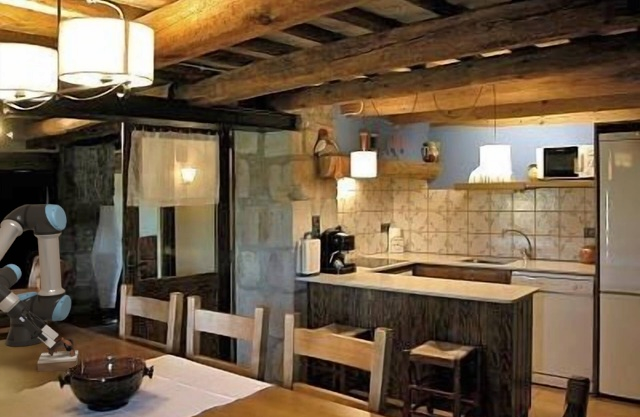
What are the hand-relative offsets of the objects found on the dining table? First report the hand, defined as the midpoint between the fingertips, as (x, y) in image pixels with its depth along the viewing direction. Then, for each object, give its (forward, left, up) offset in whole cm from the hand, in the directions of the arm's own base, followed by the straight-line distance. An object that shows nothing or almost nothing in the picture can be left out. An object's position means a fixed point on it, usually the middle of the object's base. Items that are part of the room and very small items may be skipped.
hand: (54, 341), depth 245 cm
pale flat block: (0, +1, -10) cm, 10 cm away
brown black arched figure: (0, +3, -6) cm, 7 cm away
